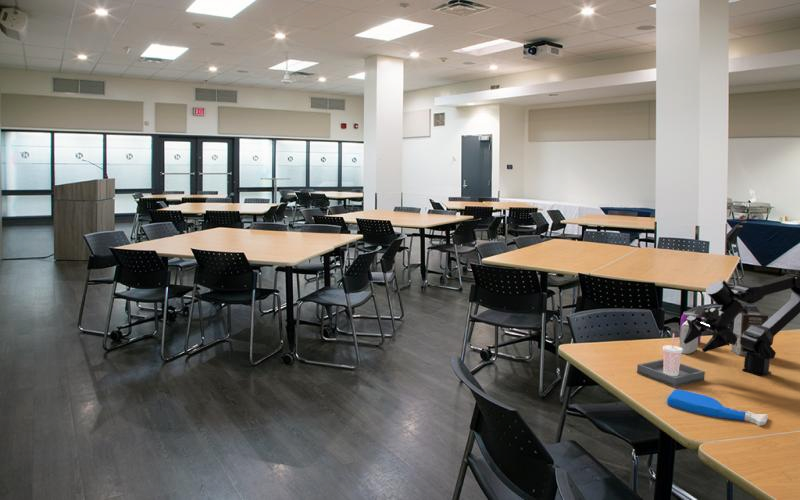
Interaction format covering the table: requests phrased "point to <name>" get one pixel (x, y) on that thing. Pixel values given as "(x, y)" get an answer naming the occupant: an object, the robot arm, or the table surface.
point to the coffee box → (746, 327)
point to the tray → (656, 373)
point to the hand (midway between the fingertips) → (693, 346)
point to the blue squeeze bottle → (710, 407)
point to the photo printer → (691, 345)
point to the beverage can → (683, 319)
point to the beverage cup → (671, 359)
